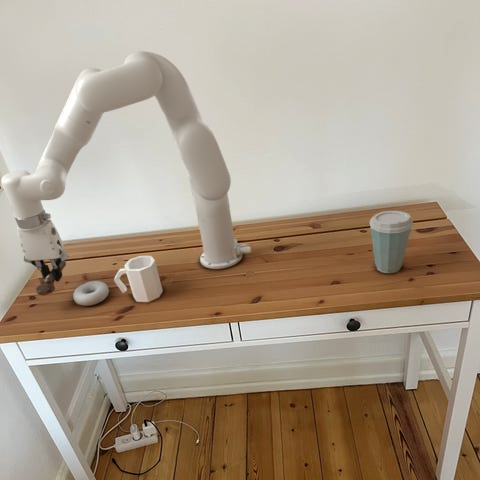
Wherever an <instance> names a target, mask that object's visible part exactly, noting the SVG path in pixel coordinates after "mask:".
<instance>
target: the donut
mask: <svg viewBox="0 0 480 480" xmlns="http://www.w3.org/2000/svg"><path fill="white" fill-rule="evenodd" d="M109 292H110V290H109V286H108V285H107V284H106V283H105V282H103V281H101V280H92V281H91V280H90V281H87V282H84V283H82V284H81V285H78V286H77V287H76V288H75V289H74V291H73V294H72V298H73V301H74V302H75V304H77V305H79V306H81V307H82V306H83V307H88V306H94V305H97V304H99V303H101V302H103V301H105V299H106V298H107V297H108V296H109Z"/></svg>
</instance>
